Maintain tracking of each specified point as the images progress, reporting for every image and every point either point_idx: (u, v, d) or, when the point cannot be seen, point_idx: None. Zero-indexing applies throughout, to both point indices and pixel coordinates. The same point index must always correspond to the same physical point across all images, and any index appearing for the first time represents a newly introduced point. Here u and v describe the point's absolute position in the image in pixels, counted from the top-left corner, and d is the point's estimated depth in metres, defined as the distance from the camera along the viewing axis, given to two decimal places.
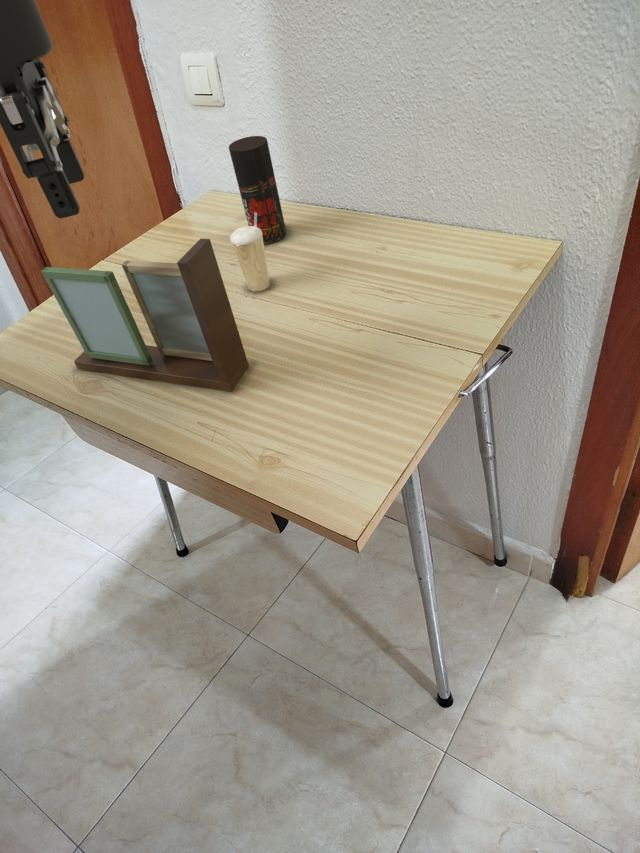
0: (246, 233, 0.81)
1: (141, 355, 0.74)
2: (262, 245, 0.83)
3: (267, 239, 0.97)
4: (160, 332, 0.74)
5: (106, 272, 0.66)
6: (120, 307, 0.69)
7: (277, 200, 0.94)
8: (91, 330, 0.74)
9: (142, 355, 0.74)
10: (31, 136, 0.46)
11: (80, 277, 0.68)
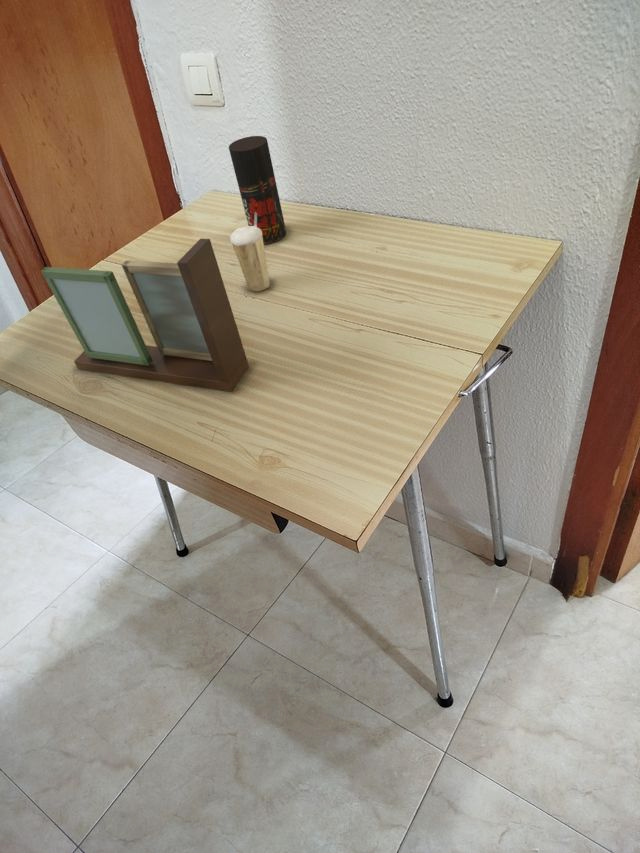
0: (246, 233, 0.81)
1: (141, 355, 0.74)
2: (262, 245, 0.83)
3: (267, 239, 0.97)
4: (160, 332, 0.74)
5: (106, 272, 0.66)
6: (120, 307, 0.69)
7: (277, 200, 0.94)
8: (91, 330, 0.74)
9: (142, 355, 0.74)
10: None
11: (80, 277, 0.68)
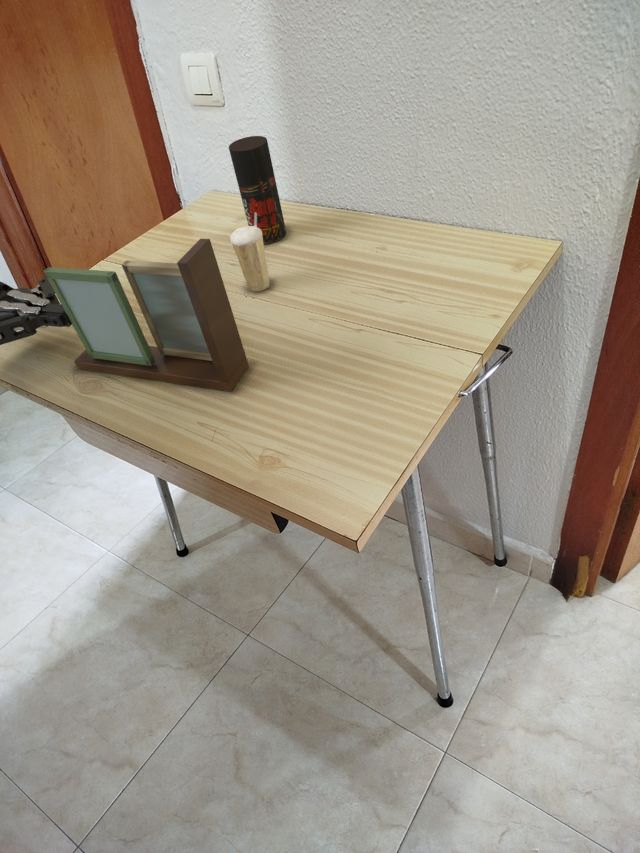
0: (246, 233, 0.81)
1: (144, 355, 0.74)
2: (262, 245, 0.83)
3: (267, 239, 0.97)
4: (160, 332, 0.74)
5: (109, 272, 0.66)
6: (123, 307, 0.69)
7: (277, 200, 0.94)
8: (94, 330, 0.74)
9: (145, 355, 0.74)
10: None
11: (82, 278, 0.68)
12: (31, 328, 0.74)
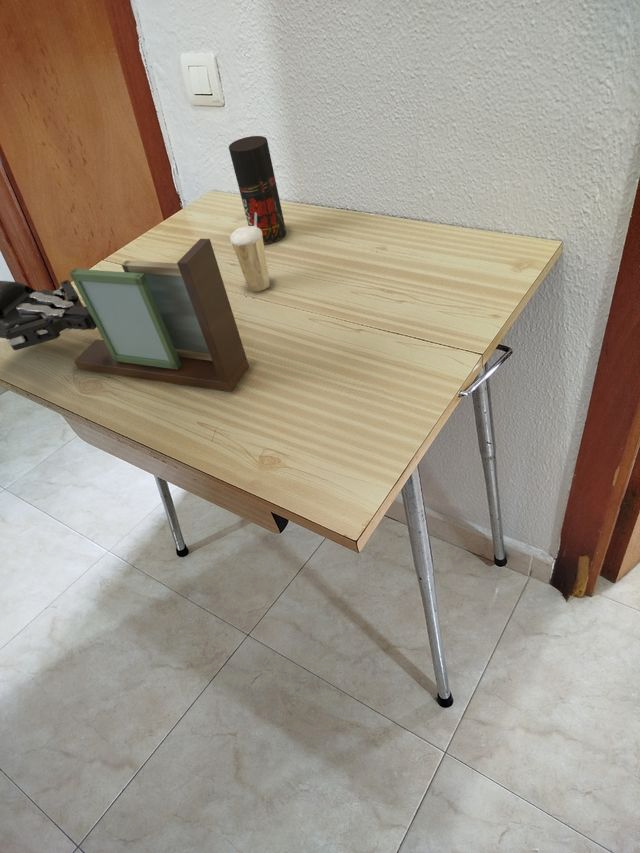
0: (246, 233, 0.81)
1: (170, 359, 0.72)
2: (262, 245, 0.83)
3: (267, 239, 0.97)
4: None
5: (137, 274, 0.65)
6: (151, 310, 0.67)
7: (277, 200, 0.94)
8: (119, 333, 0.73)
9: (171, 359, 0.72)
10: None
11: (110, 280, 0.66)
12: (55, 331, 0.73)
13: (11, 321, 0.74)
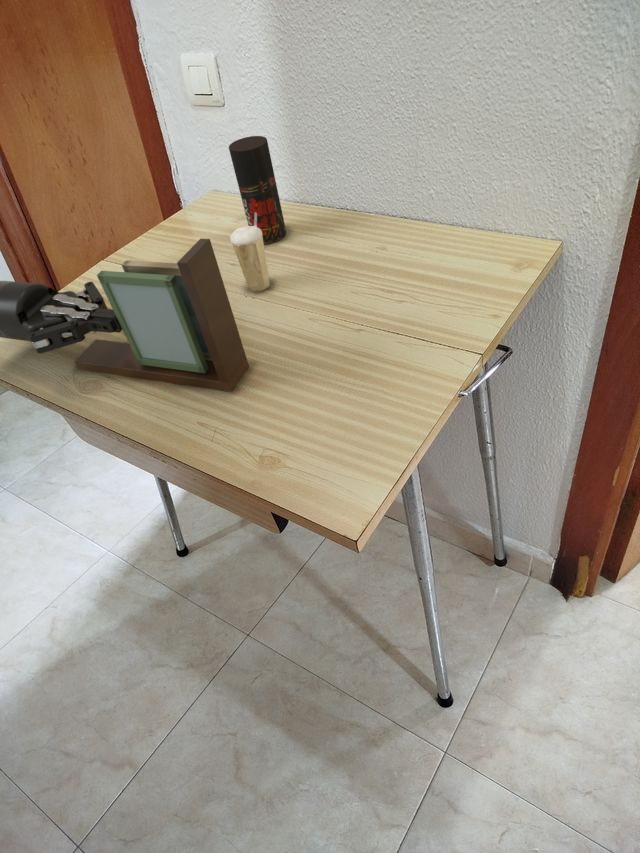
0: (246, 233, 0.81)
1: (198, 362, 0.71)
2: (262, 245, 0.83)
3: (267, 239, 0.97)
4: None
5: (168, 276, 0.63)
6: (180, 313, 0.66)
7: (277, 200, 0.94)
8: (145, 336, 0.71)
9: (199, 362, 0.71)
10: None
11: (139, 282, 0.65)
12: (80, 334, 0.71)
13: (35, 324, 0.72)
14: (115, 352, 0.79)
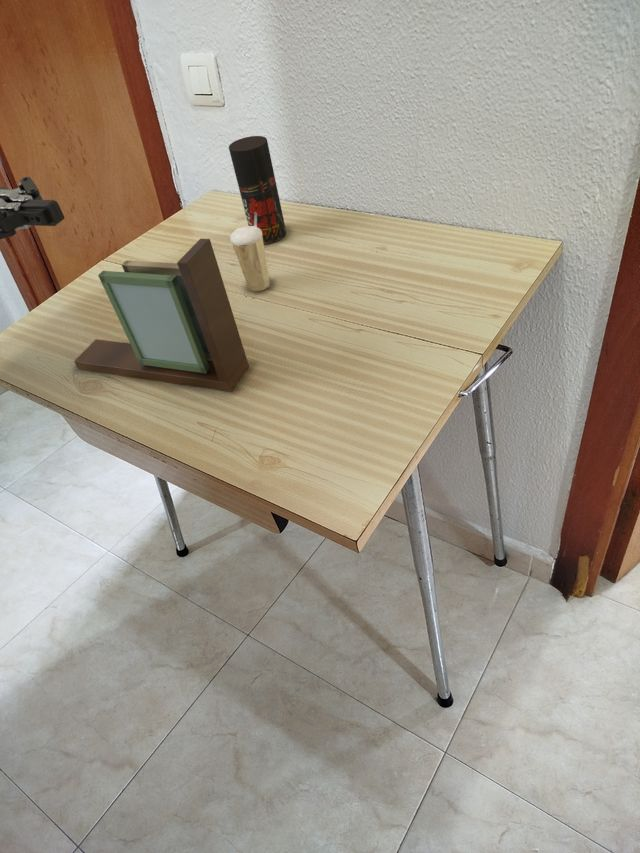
0: (246, 233, 0.81)
1: (199, 363, 0.71)
2: (262, 245, 0.83)
3: (267, 239, 0.97)
4: None
5: (169, 276, 0.63)
6: (181, 313, 0.66)
7: (277, 200, 0.94)
8: (147, 336, 0.71)
9: (200, 363, 0.71)
10: None
11: (140, 282, 0.65)
12: (9, 227, 0.62)
13: None
14: (115, 352, 0.79)
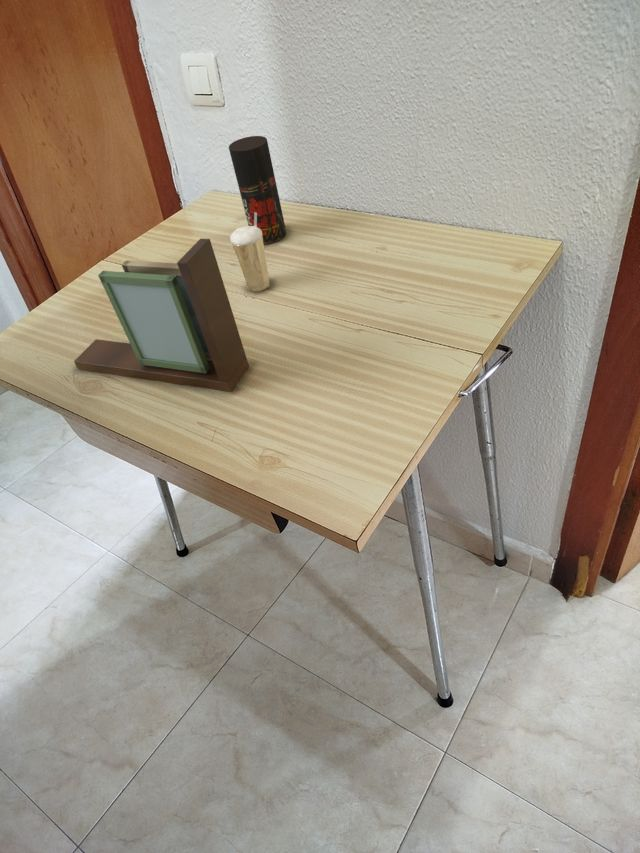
0: (246, 233, 0.81)
1: (199, 363, 0.71)
2: (262, 245, 0.83)
3: (267, 239, 0.97)
4: None
5: (169, 276, 0.63)
6: (181, 313, 0.66)
7: (277, 200, 0.94)
8: (147, 336, 0.71)
9: (200, 363, 0.71)
10: None
11: (140, 282, 0.65)
12: None
13: None
14: (115, 352, 0.79)
